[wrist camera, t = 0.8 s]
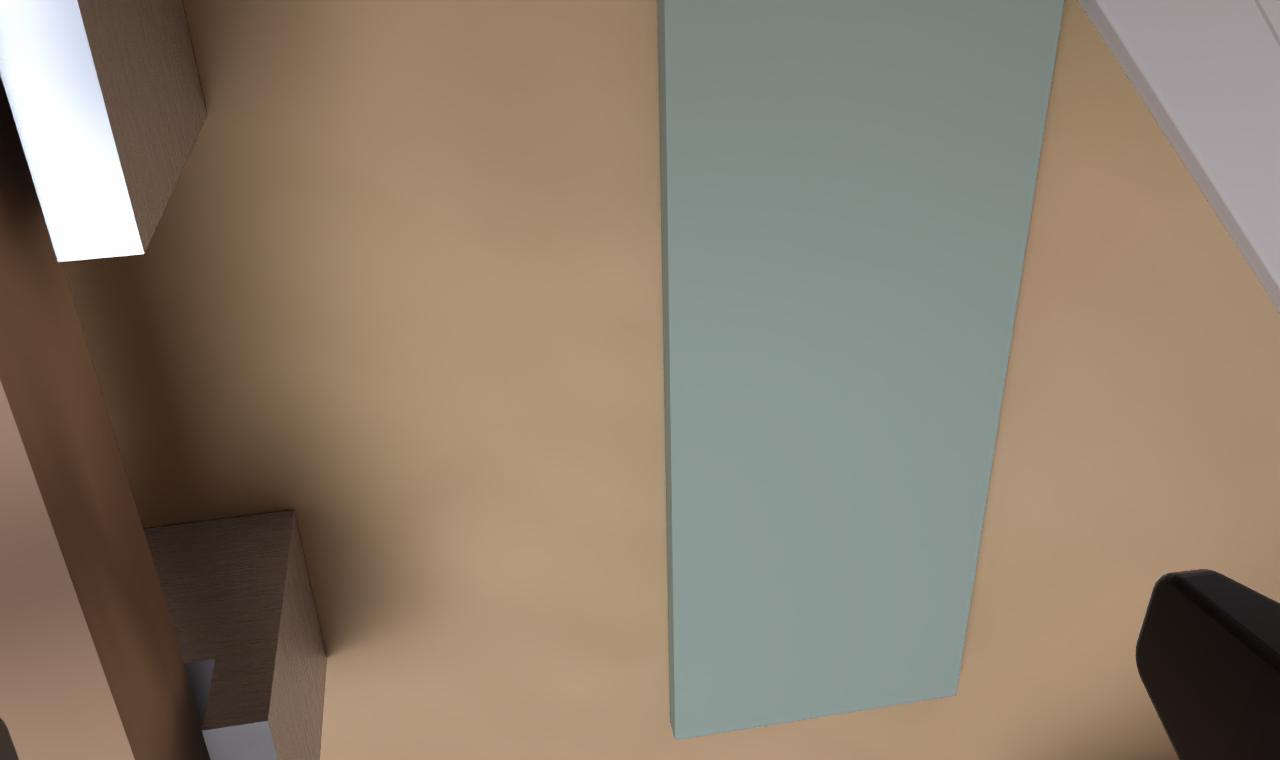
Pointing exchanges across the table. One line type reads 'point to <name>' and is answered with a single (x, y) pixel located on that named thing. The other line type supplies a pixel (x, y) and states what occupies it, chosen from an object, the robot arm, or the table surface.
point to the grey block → (246, 633)
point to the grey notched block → (101, 114)
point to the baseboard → (1212, 104)
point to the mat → (836, 337)
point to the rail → (71, 528)
